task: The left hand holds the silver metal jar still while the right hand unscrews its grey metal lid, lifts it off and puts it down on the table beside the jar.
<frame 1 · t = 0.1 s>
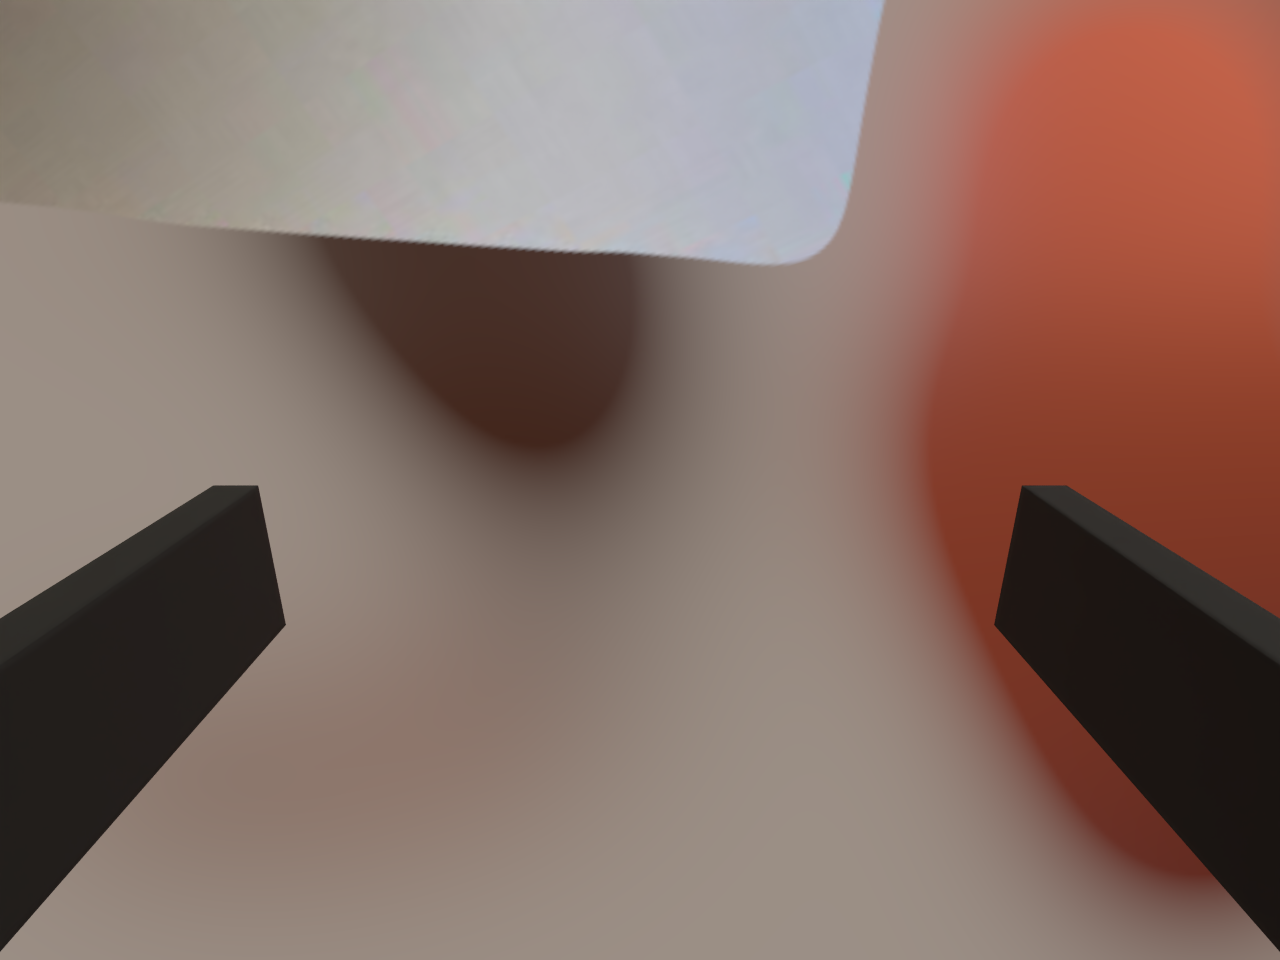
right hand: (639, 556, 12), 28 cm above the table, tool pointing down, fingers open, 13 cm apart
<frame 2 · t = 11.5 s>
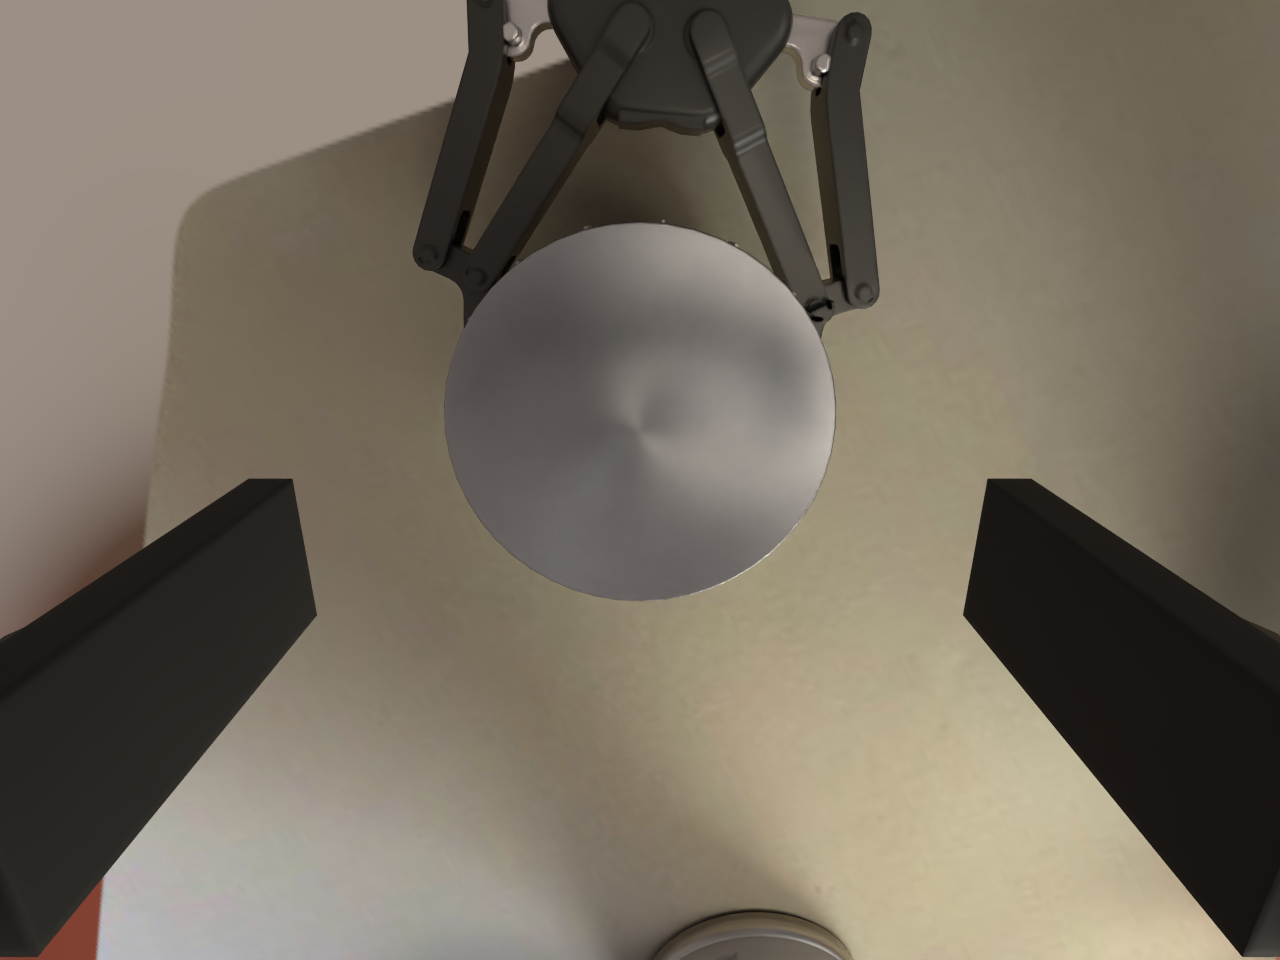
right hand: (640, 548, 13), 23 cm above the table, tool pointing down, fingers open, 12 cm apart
left hand: (631, 460, 30), fingers closed on jar, 10 cm apart
lid: (640, 426, 20), point 15 cm above the table, screwed on, not yet turned
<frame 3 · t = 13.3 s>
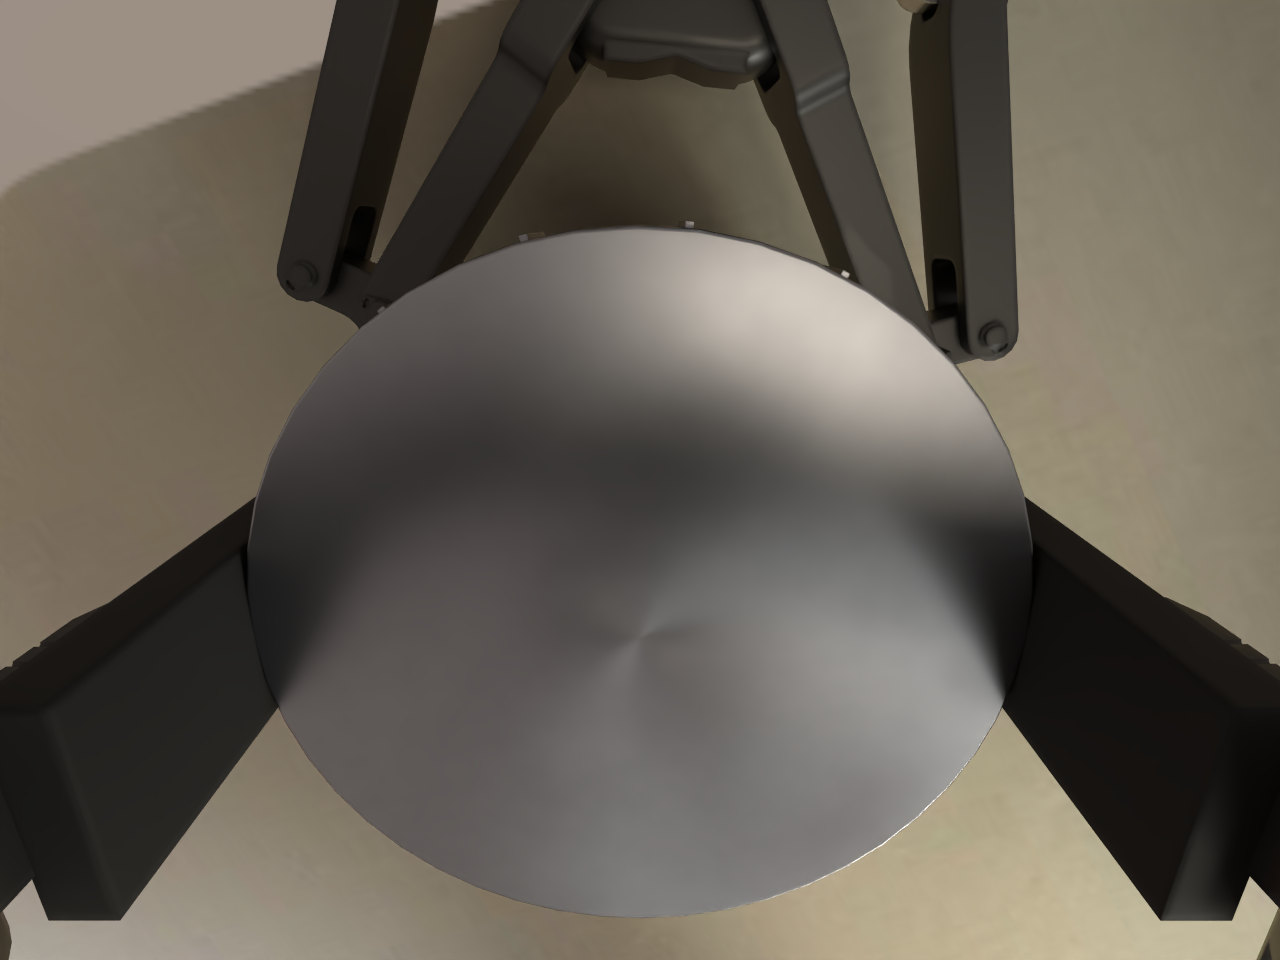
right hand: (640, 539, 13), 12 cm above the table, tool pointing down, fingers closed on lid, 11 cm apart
lid: (640, 624, 10), point 15 cm above the table, screwed on, not yet turned, touching right hand
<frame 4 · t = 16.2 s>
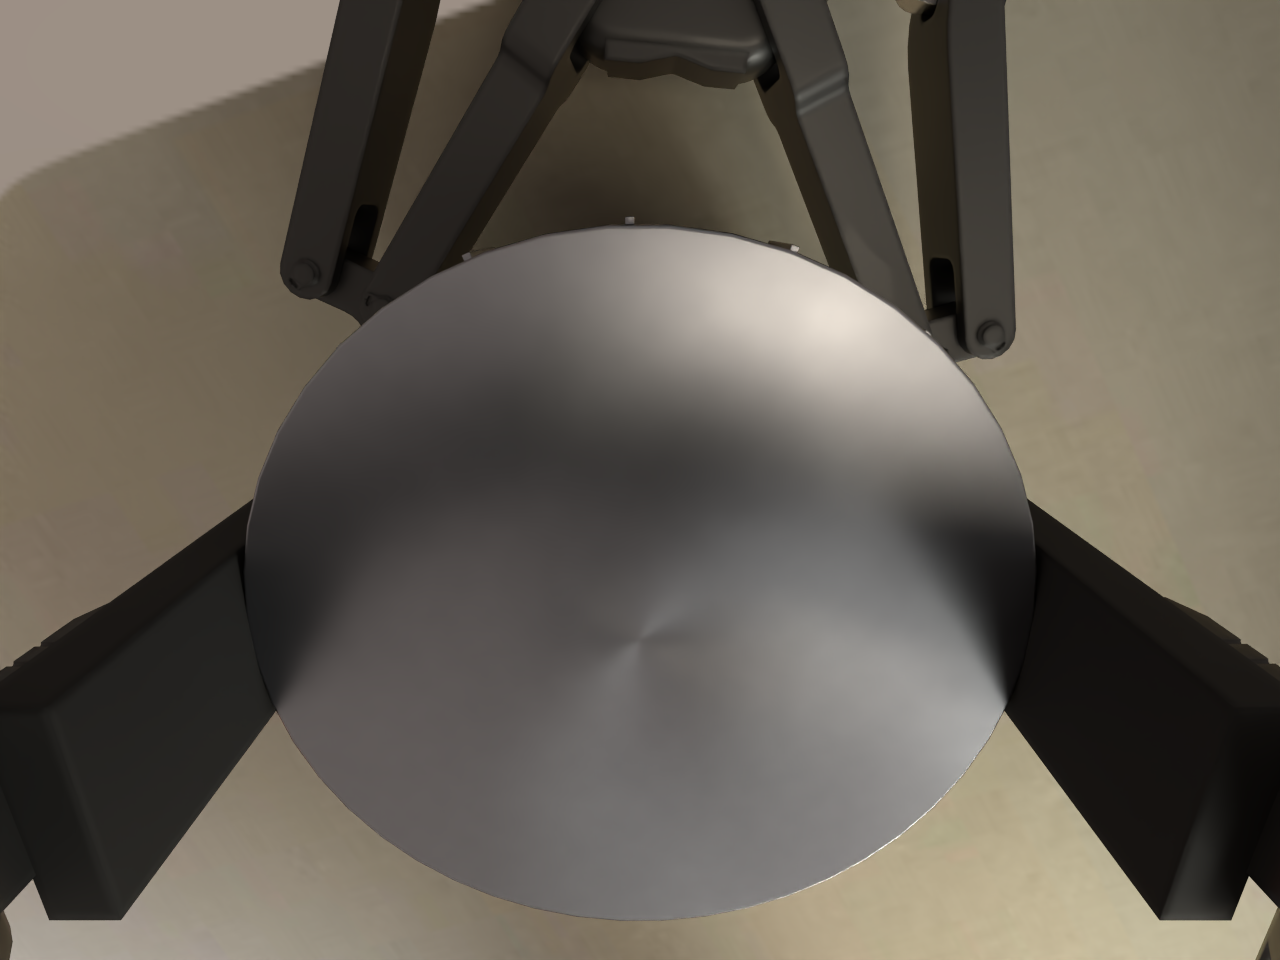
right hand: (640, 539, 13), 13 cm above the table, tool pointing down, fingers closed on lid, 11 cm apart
lid: (640, 626, 10), point 16 cm above the table, turned 71° so far, risen 0.2 cm, still on its thread, touching right hand
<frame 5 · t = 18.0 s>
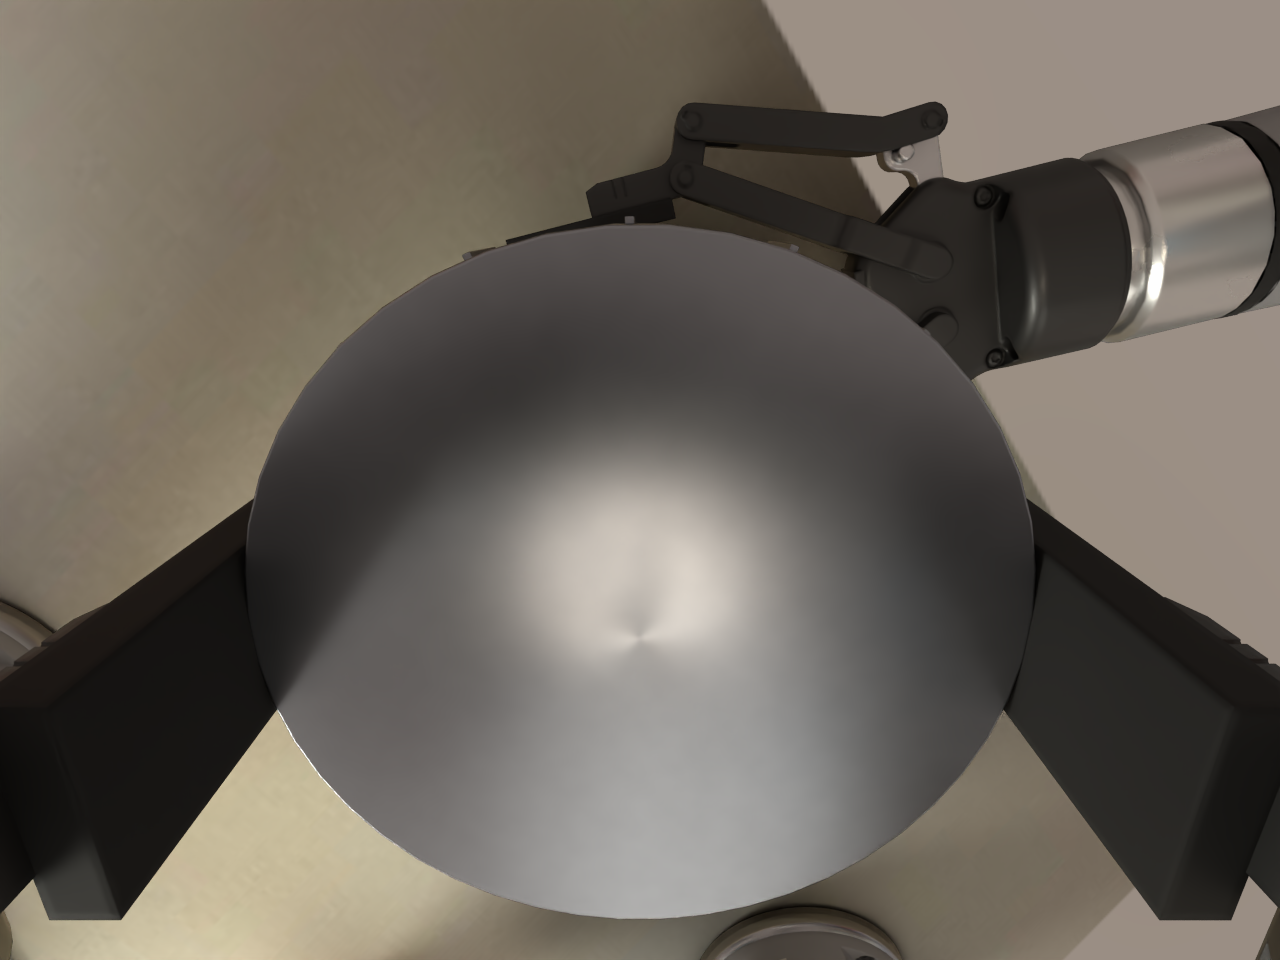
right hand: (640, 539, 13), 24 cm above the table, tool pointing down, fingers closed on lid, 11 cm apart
left hand: (552, 380, 30), fingers closed on jar, 10 cm apart
lid: (640, 625, 10), point 27 cm above the table, off its thread, touching right hand
when the right hand's fingers open (0 cm above the table, at t = 24.0 s): lid drops 1 cm, point 2 cm above the table.
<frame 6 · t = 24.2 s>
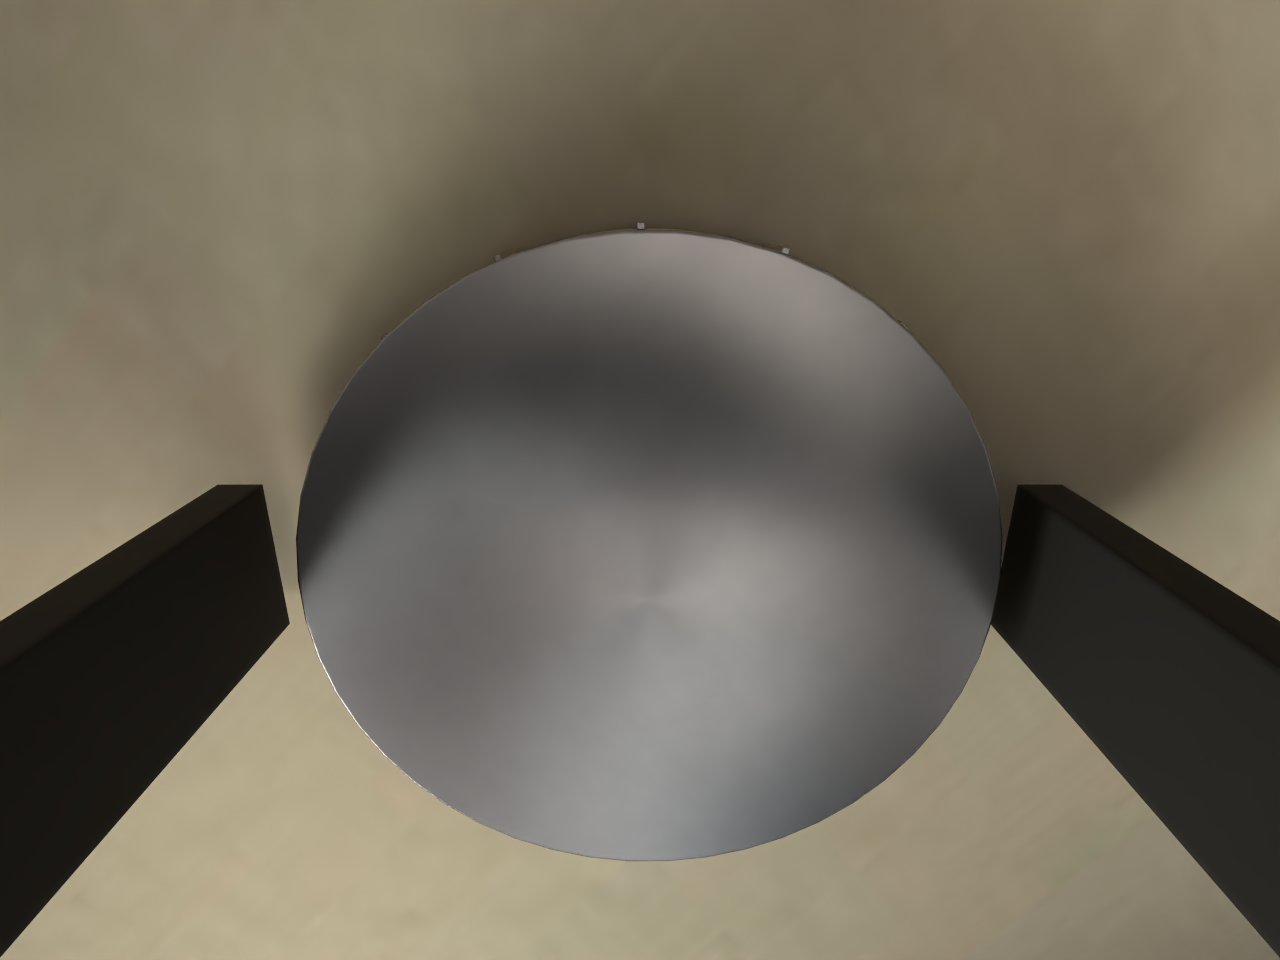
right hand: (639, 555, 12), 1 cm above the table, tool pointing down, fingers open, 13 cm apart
lid: (648, 588, 11), point 2 cm above the table, off its thread
when the left hand's fingers open (6 cm above the table, at t = 25.0 s): jar stays where it is, on the table.
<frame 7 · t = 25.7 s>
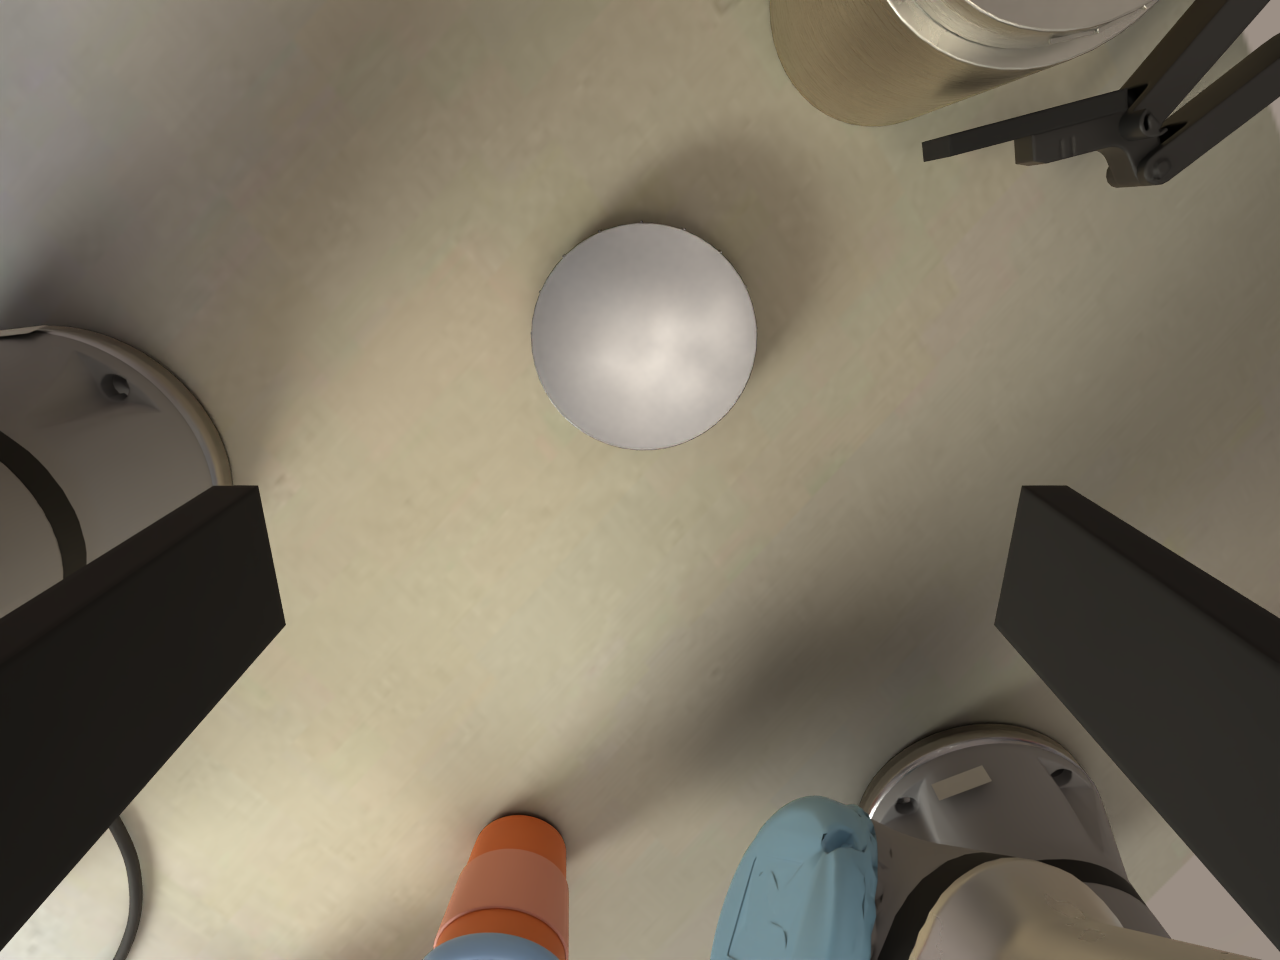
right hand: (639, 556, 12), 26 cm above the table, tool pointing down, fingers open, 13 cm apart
cup with straw: (521, 845, 48), on the table
lid: (644, 341, 35), point 2 cm above the table, off its thread
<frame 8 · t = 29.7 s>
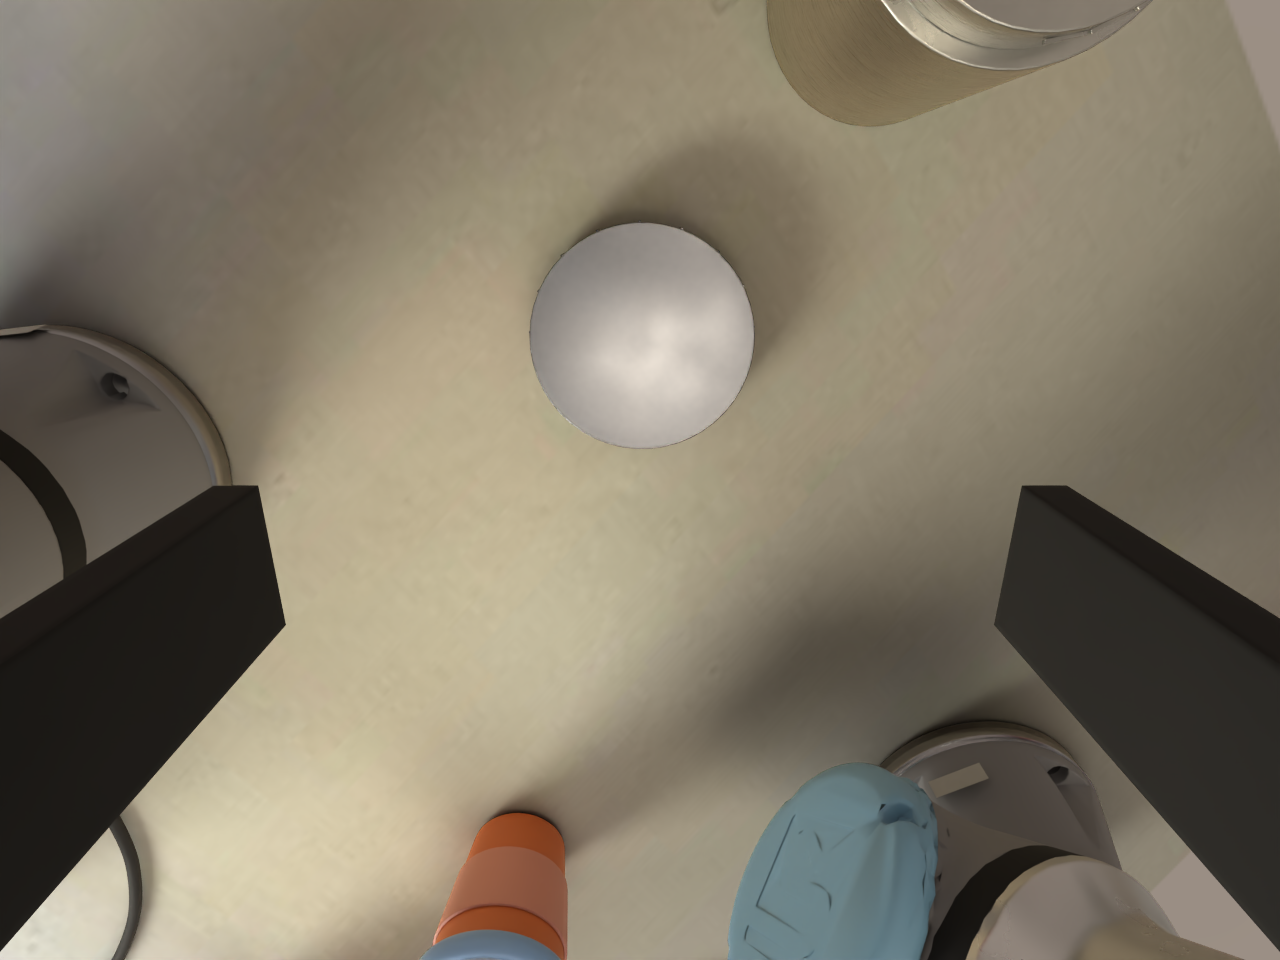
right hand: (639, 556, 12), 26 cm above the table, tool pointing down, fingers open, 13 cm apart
cup with straw: (520, 843, 49), on the table
lid: (642, 340, 35), point 2 cm above the table, off its thread
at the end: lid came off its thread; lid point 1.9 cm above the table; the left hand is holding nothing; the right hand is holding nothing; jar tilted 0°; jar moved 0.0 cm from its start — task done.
